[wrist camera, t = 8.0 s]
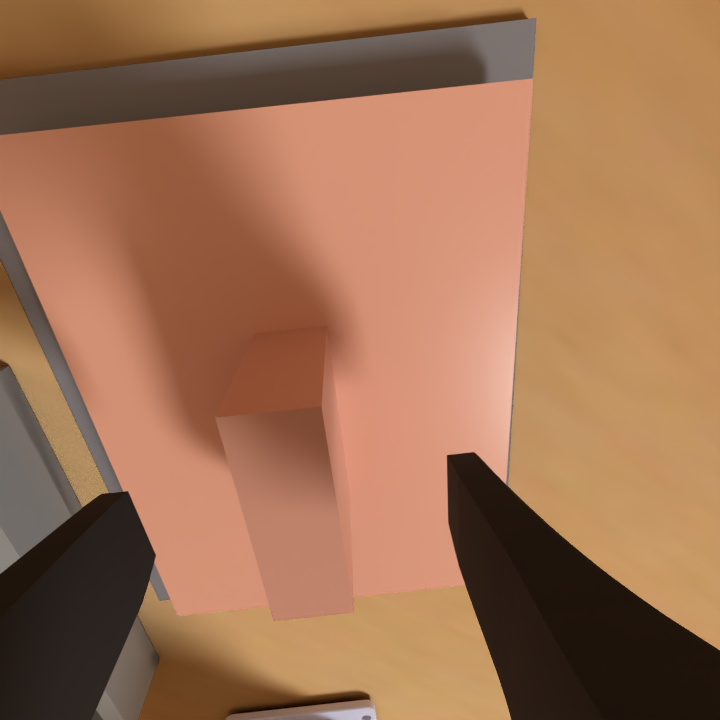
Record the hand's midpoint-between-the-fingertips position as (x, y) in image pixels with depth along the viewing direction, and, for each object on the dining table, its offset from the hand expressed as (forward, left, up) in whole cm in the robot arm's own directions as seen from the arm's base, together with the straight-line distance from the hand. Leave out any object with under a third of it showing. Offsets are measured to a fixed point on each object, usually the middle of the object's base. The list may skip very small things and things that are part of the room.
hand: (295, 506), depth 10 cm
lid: (0, 0, -4) cm, 4 cm away
